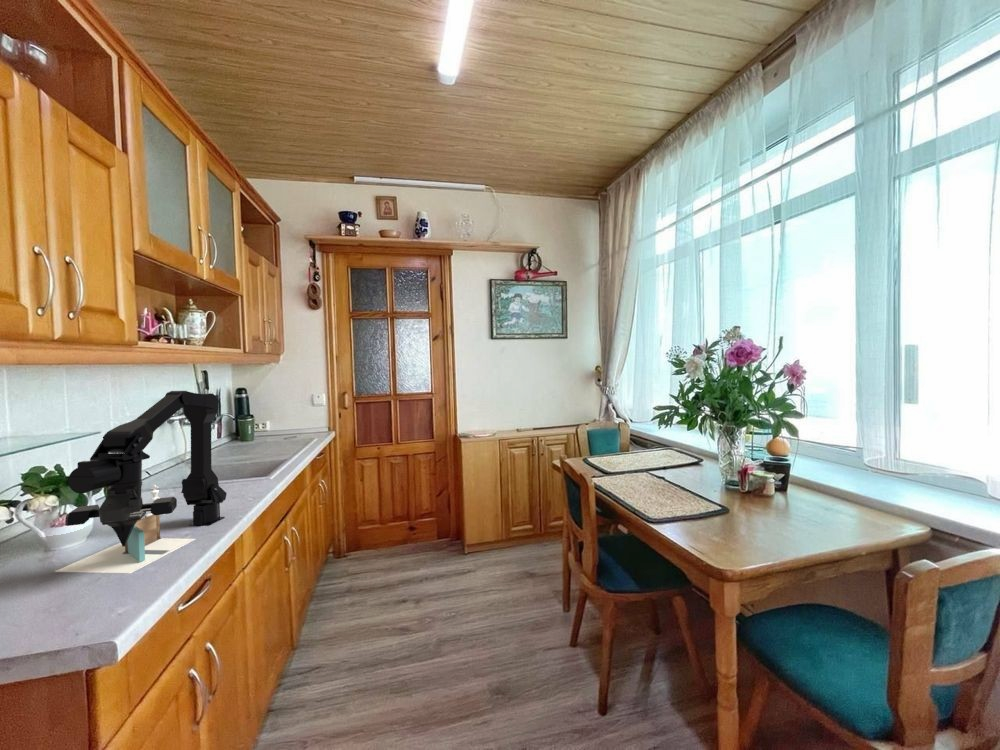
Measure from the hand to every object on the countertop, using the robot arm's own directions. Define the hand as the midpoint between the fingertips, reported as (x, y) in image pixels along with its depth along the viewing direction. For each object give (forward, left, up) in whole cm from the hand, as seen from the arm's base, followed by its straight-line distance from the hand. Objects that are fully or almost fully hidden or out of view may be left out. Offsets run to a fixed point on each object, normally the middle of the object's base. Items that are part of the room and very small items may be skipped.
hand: (124, 545), depth 95 cm
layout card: (-5, -4, -5) cm, 8 cm away
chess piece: (-31, -23, -5) cm, 39 cm away
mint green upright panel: (-3, 0, -4) cm, 5 cm away
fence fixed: (-10, -5, -4) cm, 12 cm away
